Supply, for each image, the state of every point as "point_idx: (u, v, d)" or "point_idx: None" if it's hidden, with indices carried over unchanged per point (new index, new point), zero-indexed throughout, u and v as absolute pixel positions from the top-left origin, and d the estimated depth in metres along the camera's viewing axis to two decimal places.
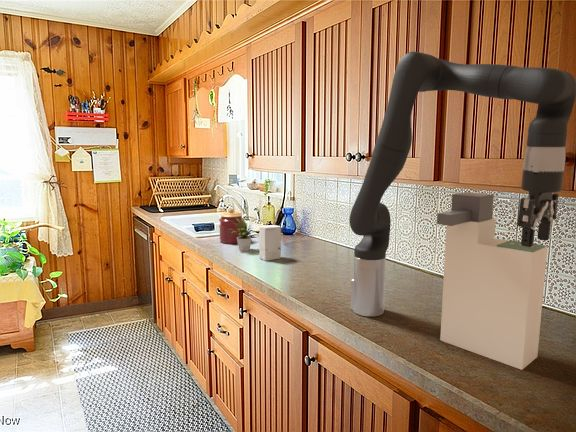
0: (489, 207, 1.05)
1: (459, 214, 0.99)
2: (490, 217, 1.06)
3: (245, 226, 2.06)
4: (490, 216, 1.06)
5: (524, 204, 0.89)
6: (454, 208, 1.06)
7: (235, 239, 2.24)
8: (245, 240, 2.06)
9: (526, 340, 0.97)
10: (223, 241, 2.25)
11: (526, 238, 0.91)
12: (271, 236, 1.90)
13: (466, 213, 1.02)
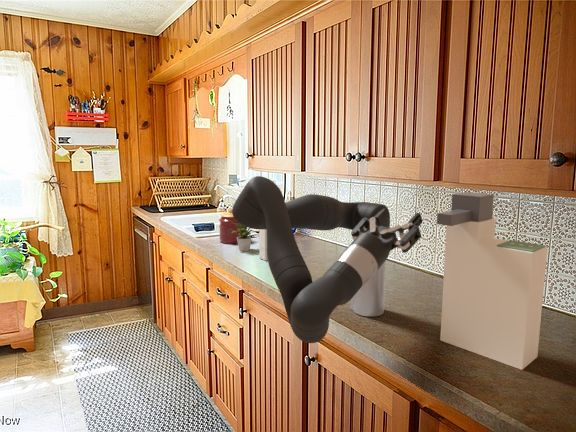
0: (489, 207, 1.05)
1: (459, 214, 0.99)
2: (490, 217, 1.06)
3: None
4: (490, 216, 1.06)
5: None
6: (454, 208, 1.06)
7: (235, 239, 2.24)
8: (245, 240, 2.06)
9: (526, 340, 0.97)
10: (223, 241, 2.25)
11: None
12: None
13: (466, 213, 1.02)
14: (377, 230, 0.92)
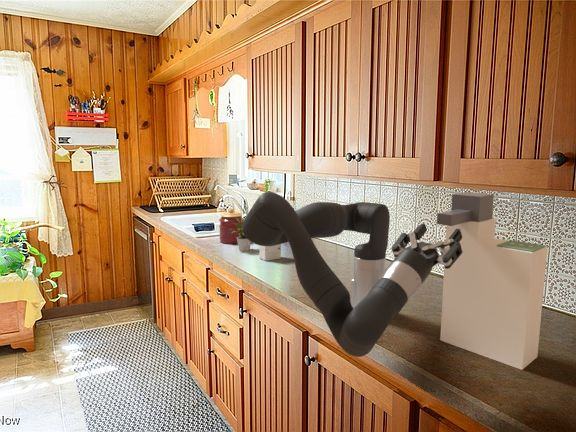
0: (489, 207, 1.05)
1: (459, 214, 0.99)
2: (490, 217, 1.06)
3: None
4: (490, 216, 1.06)
5: None
6: (454, 208, 1.06)
7: (235, 239, 2.24)
8: (245, 240, 2.06)
9: (526, 340, 0.97)
10: (223, 241, 2.25)
11: None
12: None
13: (466, 213, 1.02)
14: (418, 246, 0.95)
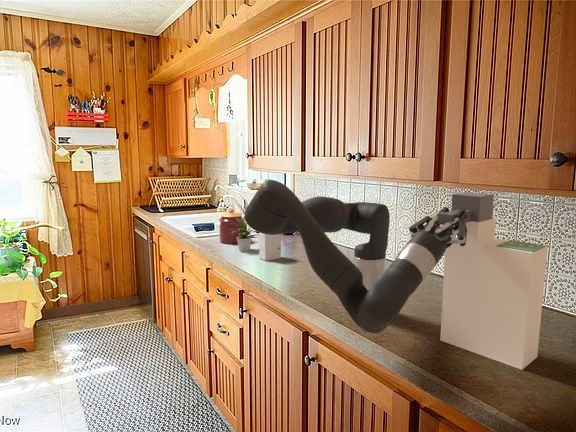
0: (489, 207, 1.05)
1: None
2: (490, 217, 1.06)
3: (245, 226, 2.06)
4: (490, 216, 1.06)
5: None
6: (454, 208, 1.06)
7: (235, 239, 2.24)
8: (245, 240, 2.06)
9: (526, 340, 0.97)
10: (223, 241, 2.25)
11: None
12: (271, 236, 1.90)
13: (466, 213, 1.02)
14: (433, 230, 0.97)
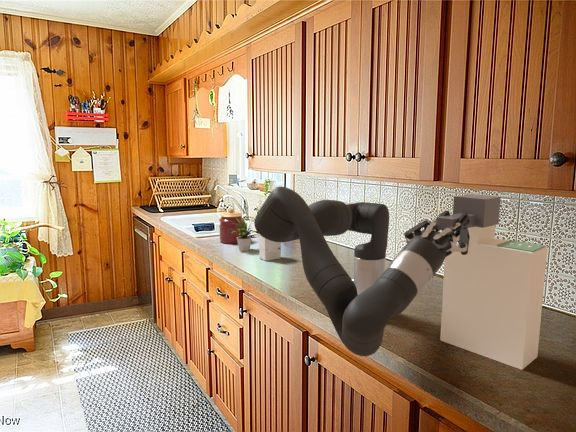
0: (495, 211, 0.94)
1: None
2: (496, 222, 0.95)
3: (245, 226, 2.06)
4: (496, 221, 0.95)
5: None
6: (456, 212, 0.95)
7: (235, 239, 2.24)
8: (245, 240, 2.06)
9: (526, 340, 0.97)
10: (223, 241, 2.25)
11: None
12: None
13: (469, 217, 0.90)
14: (431, 236, 0.86)
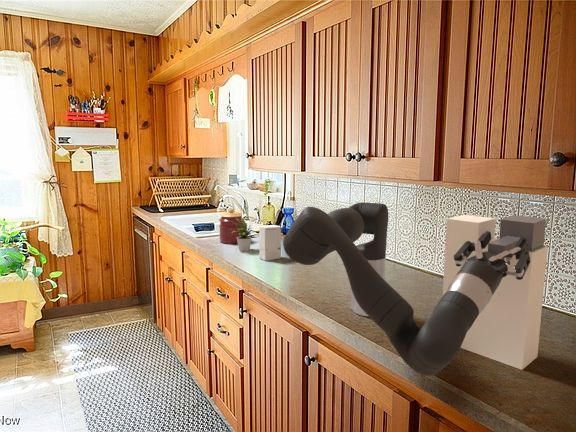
0: (542, 233, 0.97)
1: (512, 244, 0.91)
2: (542, 243, 0.98)
3: (245, 226, 2.06)
4: (542, 242, 0.98)
5: None
6: (503, 234, 0.98)
7: (235, 239, 2.24)
8: (245, 240, 2.06)
9: (526, 340, 0.97)
10: (223, 241, 2.25)
11: None
12: (271, 236, 1.90)
13: None
14: (484, 256, 0.89)
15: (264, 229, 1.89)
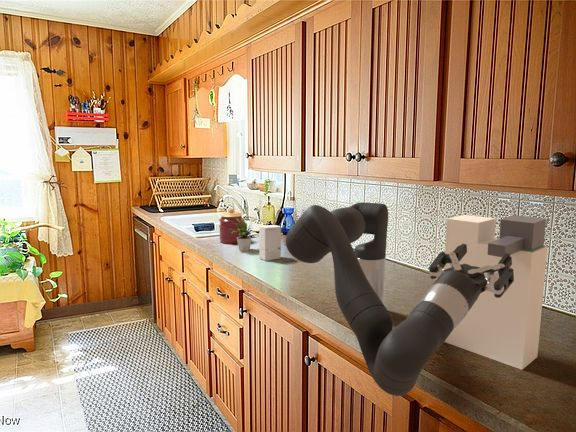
0: (542, 233, 0.97)
1: (512, 244, 0.91)
2: (542, 243, 0.98)
3: (245, 226, 2.06)
4: (542, 242, 0.98)
5: None
6: (503, 234, 0.98)
7: (235, 239, 2.24)
8: (245, 240, 2.06)
9: (526, 340, 0.97)
10: (223, 241, 2.25)
11: None
12: (271, 236, 1.90)
13: (518, 241, 0.93)
14: (461, 268, 0.83)
15: (264, 229, 1.89)
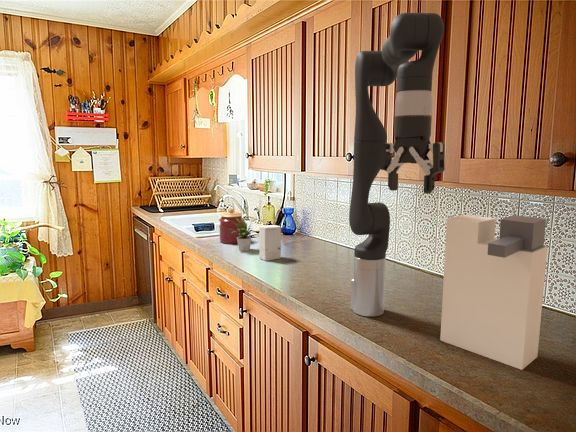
0: (542, 233, 0.97)
1: (512, 244, 0.91)
2: (542, 243, 0.98)
3: (245, 226, 2.06)
4: (542, 242, 0.98)
5: None
6: (503, 234, 0.98)
7: (235, 239, 2.24)
8: (245, 240, 2.06)
9: (526, 340, 0.97)
10: (223, 241, 2.25)
11: None
12: (271, 236, 1.90)
13: (518, 241, 0.93)
14: None
15: (264, 229, 1.89)
